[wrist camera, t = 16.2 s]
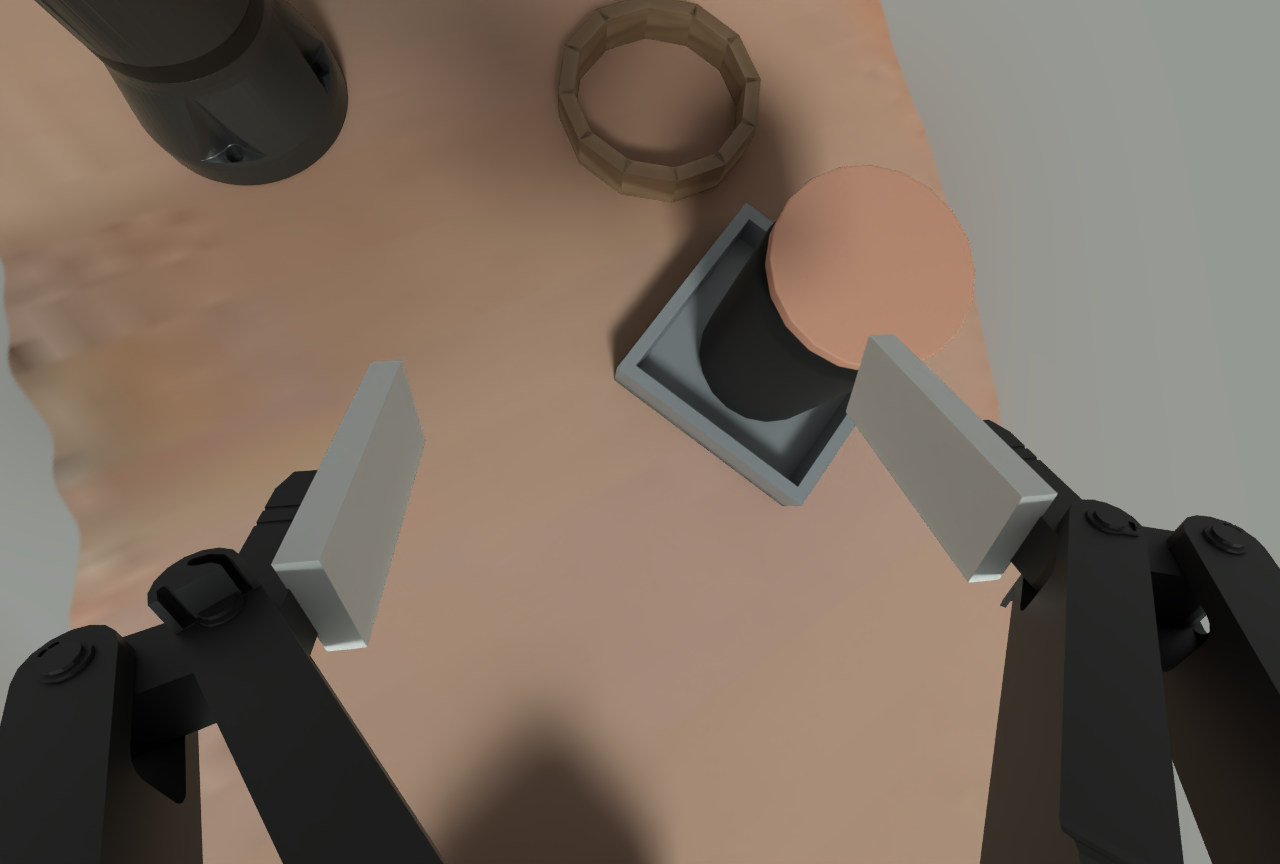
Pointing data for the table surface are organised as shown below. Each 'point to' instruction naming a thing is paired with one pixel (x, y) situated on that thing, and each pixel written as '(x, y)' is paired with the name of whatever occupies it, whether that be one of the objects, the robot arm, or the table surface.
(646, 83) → the table surface
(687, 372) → the tray
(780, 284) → the coffee jar
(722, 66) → the ring guard
